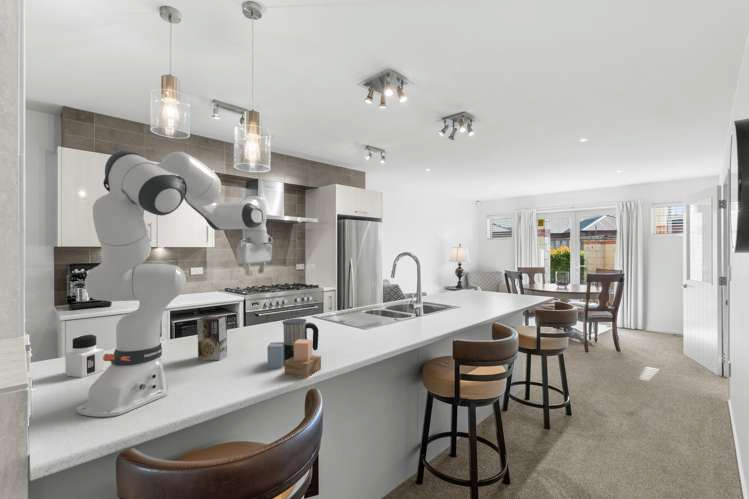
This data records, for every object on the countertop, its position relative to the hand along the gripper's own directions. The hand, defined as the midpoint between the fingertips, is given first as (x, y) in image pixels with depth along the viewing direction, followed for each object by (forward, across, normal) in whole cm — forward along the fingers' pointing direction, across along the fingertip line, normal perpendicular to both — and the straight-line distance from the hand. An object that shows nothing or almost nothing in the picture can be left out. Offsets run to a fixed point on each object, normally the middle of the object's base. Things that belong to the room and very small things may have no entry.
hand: (255, 274), depth 142 cm
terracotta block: (+28, -9, -23) cm, 38 cm away
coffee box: (+33, -1, +18) cm, 38 cm away
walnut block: (+33, -9, -23) cm, 42 cm away
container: (+33, -25, +51) cm, 66 cm away
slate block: (+33, -5, -11) cm, 35 cm away
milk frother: (+33, +9, -13) cm, 37 cm away
